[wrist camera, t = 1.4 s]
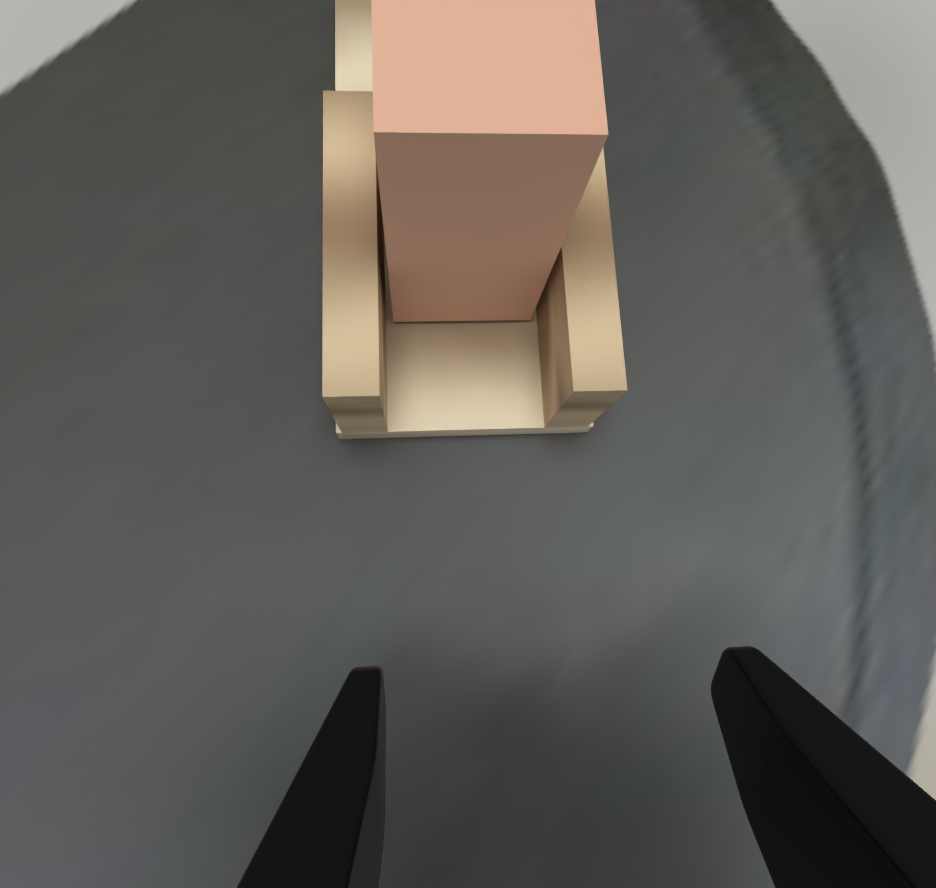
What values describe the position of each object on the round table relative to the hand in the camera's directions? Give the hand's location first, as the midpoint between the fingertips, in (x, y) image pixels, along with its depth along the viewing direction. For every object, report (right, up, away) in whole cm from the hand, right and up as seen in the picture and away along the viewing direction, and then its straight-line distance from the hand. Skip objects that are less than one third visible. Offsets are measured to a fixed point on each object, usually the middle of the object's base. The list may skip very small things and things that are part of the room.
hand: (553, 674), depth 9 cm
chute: (-2, +13, +17) cm, 21 cm away
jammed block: (-2, +11, +15) cm, 18 cm away
